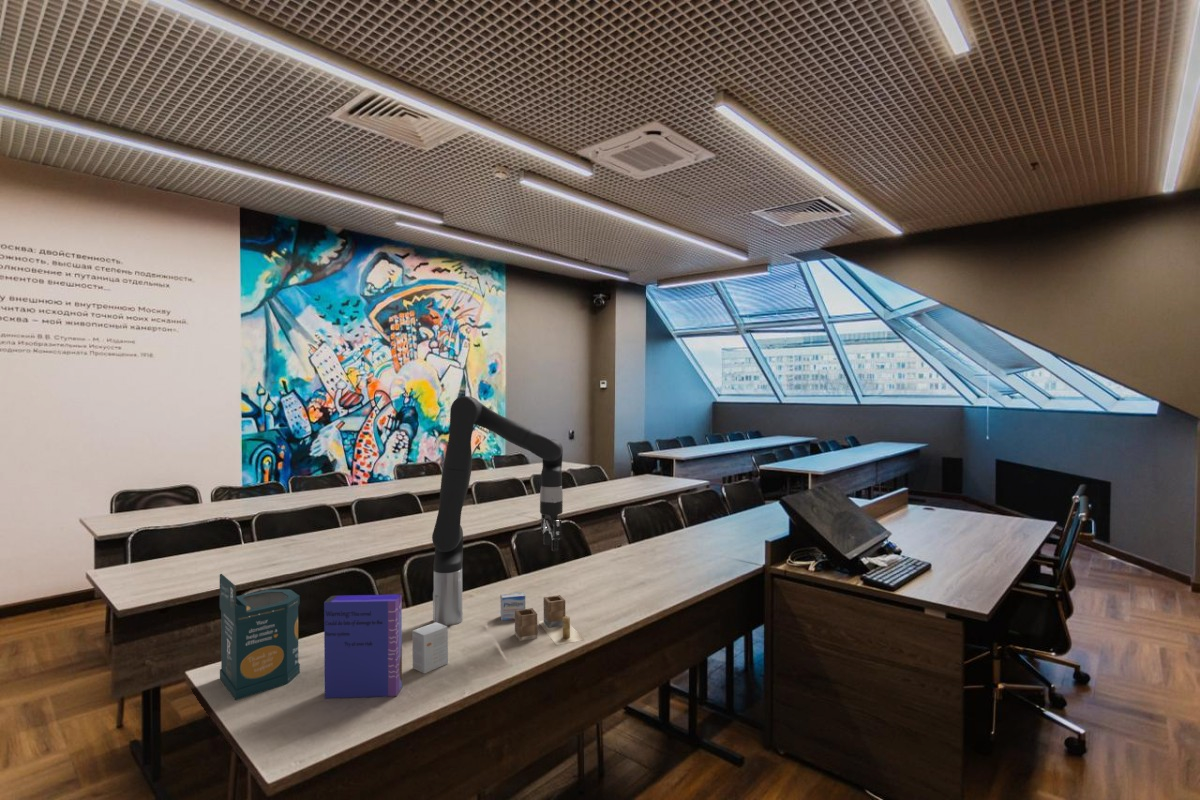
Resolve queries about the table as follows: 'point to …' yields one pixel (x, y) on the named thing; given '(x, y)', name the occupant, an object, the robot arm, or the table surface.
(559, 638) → the pin board
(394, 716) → the table surface
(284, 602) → the donation box
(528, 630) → the sleeve brown
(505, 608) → the medicine box
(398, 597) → the cereal box
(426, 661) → the small box
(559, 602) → the wooden pen holder
